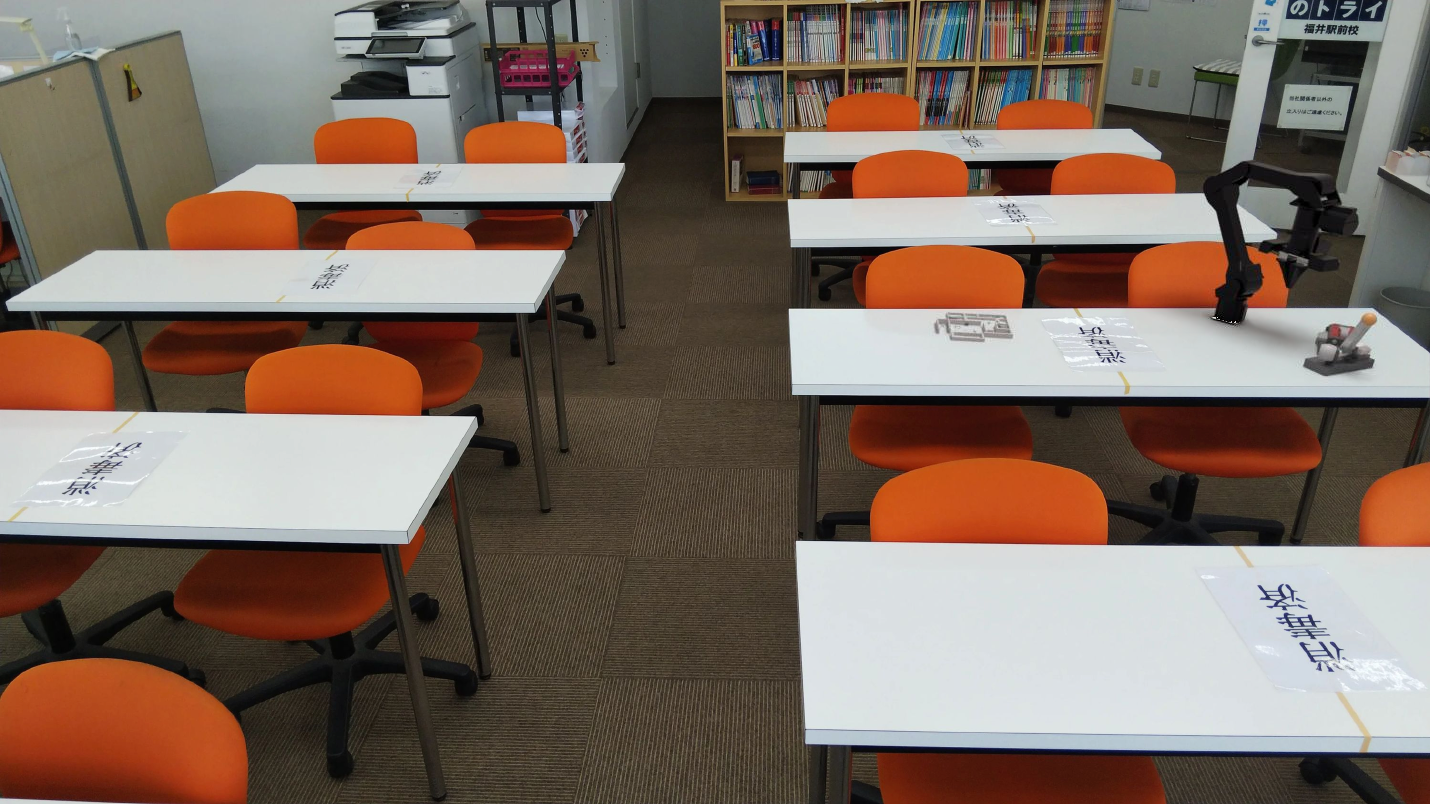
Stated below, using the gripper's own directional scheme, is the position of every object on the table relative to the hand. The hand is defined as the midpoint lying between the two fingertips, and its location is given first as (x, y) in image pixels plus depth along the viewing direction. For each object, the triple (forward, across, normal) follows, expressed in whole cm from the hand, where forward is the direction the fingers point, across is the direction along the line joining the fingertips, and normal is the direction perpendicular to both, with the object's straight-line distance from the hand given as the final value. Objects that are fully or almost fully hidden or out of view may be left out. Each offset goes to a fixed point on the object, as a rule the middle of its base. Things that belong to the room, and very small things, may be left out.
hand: (1288, 288), depth 237 cm
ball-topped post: (+10, -20, +2) cm, 22 cm away
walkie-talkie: (+14, -9, -10) cm, 19 cm away
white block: (+9, -20, -3) cm, 22 cm away
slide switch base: (+13, -20, +2) cm, 24 cm away
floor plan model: (+14, +27, +72) cm, 78 cm away
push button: (+11, -20, +7) cm, 24 cm away
